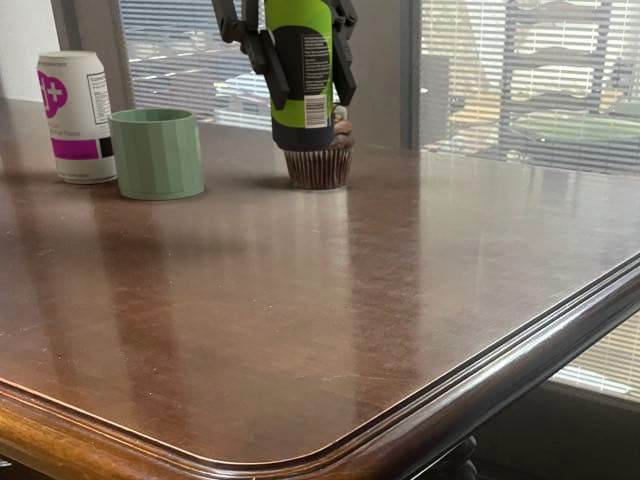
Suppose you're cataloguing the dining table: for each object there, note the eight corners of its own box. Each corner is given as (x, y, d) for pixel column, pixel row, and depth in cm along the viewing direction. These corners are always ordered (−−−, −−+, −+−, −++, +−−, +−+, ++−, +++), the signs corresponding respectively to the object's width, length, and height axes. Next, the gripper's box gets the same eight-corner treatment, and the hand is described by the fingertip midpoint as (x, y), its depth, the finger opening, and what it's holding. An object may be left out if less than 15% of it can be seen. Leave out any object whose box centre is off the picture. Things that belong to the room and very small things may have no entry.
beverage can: (339, 142, 91) (335, -29, 83) (328, 154, 86) (323, -27, 78) (280, 140, 92) (270, -31, 83) (266, 151, 87) (254, -29, 78)
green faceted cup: (102, 195, 112) (89, 118, 107) (152, 178, 120) (141, 105, 115) (174, 203, 109) (164, 124, 104) (220, 185, 117) (212, 111, 112)
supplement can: (76, 188, 115) (50, 58, 107) (49, 177, 120) (23, 53, 112) (132, 178, 120) (112, 54, 111) (104, 168, 125) (83, 48, 116)
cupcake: (301, 172, 124) (296, 93, 118) (365, 177, 121) (364, 97, 116) (272, 187, 116) (266, 104, 111) (340, 193, 114) (337, 108, 108)
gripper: (148, -151, 79) (226, 75, 76) (341, -139, 86) (418, 66, 84) (141, -79, 86) (213, 131, 83) (321, -74, 93) (391, 118, 91)
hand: (316, 98), depth 84 cm, fingers closed on beverage can, 6 cm apart
